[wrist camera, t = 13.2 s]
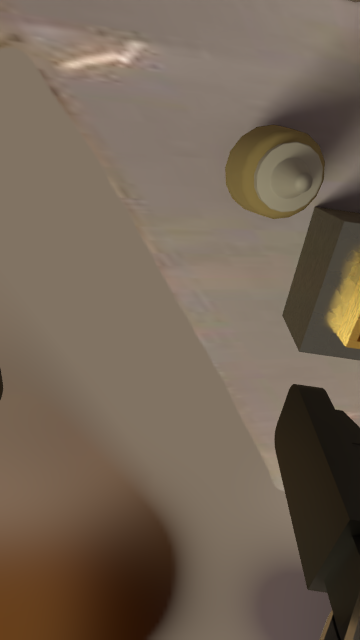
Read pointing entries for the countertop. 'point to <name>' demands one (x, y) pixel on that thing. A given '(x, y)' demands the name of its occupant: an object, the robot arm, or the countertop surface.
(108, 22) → the countertop surface
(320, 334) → the grey boxy block
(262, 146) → the squeeze bottle
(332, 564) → the robot arm
